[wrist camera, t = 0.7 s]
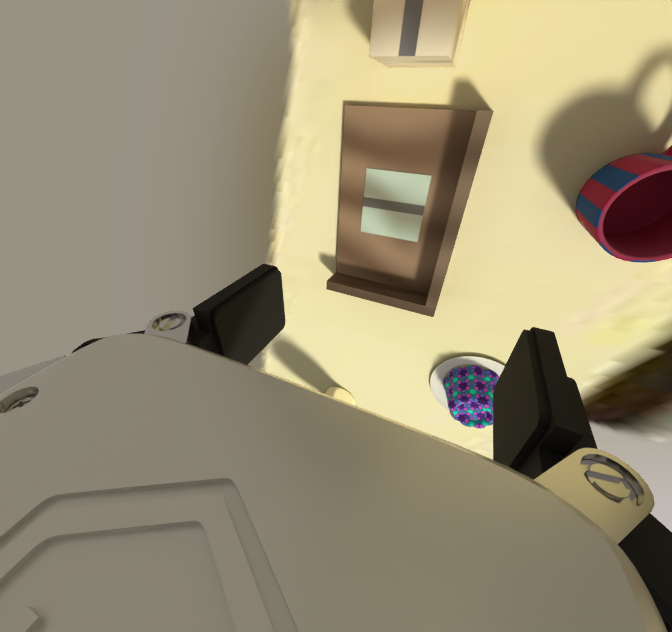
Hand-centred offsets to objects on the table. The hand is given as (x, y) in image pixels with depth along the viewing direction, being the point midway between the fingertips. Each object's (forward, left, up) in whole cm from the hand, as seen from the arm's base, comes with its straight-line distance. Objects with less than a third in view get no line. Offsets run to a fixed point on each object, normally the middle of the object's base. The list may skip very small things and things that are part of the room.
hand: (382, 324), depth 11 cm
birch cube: (-13, -5, -25) cm, 29 cm away
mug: (-3, +15, -26) cm, 30 cm away
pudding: (+25, +10, -26) cm, 37 cm away
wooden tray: (+3, -5, -25) cm, 26 cm away
